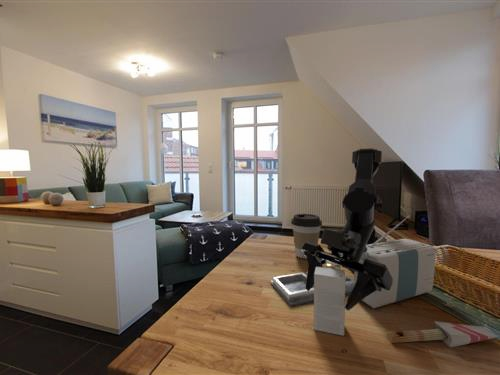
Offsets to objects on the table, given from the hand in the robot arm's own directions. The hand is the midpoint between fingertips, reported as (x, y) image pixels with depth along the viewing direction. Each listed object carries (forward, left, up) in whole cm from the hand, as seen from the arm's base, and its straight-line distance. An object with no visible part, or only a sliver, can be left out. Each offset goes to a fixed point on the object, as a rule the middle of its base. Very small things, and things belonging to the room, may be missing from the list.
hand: (325, 298), depth 49 cm
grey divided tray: (-8, -15, -7) cm, 19 cm away
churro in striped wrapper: (-19, +10, -7) cm, 23 cm away
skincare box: (-1, 0, -7) cm, 7 cm away
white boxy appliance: (-25, -5, -7) cm, 26 cm away
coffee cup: (-18, -36, -7) cm, 41 cm away
